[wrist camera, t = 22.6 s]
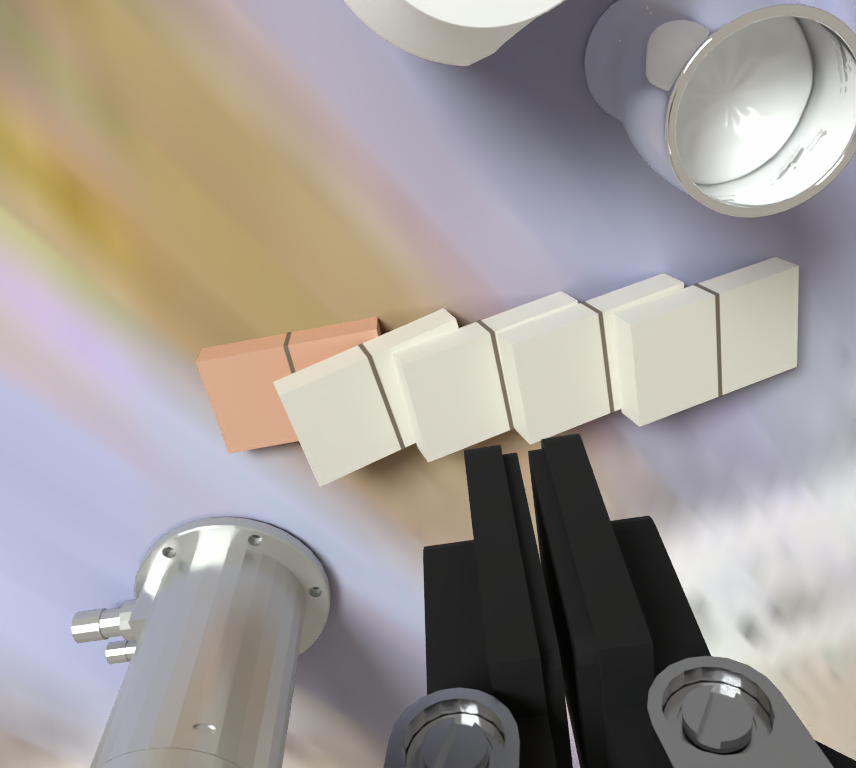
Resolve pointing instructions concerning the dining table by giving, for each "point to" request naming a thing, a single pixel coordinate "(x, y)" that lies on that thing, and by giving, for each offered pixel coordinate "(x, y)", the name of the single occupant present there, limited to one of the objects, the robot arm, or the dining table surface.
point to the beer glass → (730, 96)
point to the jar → (449, 25)
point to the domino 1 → (268, 379)
